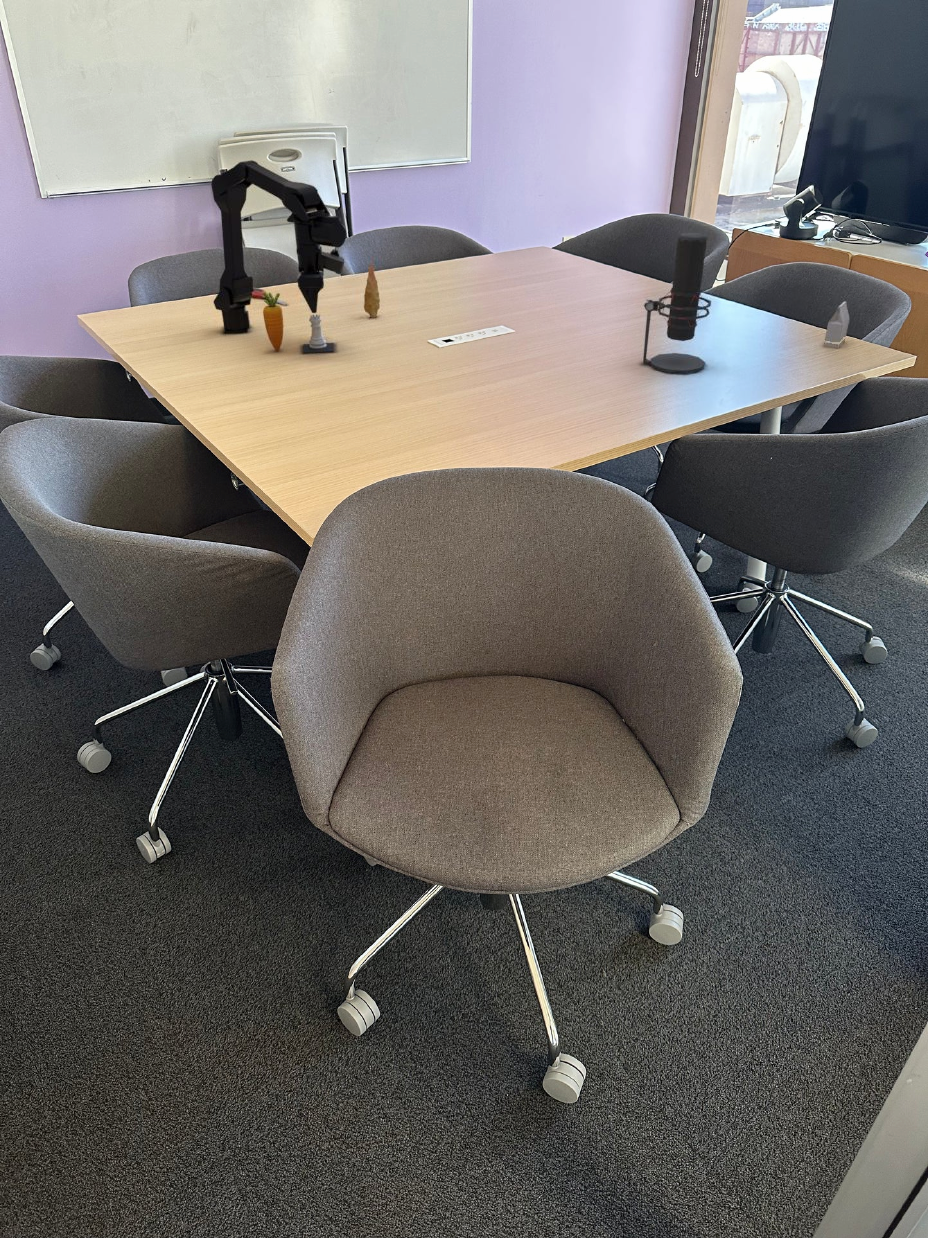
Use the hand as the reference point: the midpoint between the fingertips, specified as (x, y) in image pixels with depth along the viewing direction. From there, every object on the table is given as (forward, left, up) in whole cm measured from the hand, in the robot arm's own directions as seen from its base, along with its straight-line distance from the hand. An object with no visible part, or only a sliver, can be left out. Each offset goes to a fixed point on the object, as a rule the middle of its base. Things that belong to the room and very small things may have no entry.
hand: (314, 307), depth 229 cm
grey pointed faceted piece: (+132, -19, -10) cm, 134 cm away
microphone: (+86, -29, -10) cm, 92 cm away
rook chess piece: (0, 0, -10) cm, 10 cm away
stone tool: (+15, +26, -10) cm, 32 cm away
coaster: (0, -1, -10) cm, 10 cm away
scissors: (-16, +53, -10) cm, 57 cm away
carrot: (-11, -1, -10) cm, 15 cm away
